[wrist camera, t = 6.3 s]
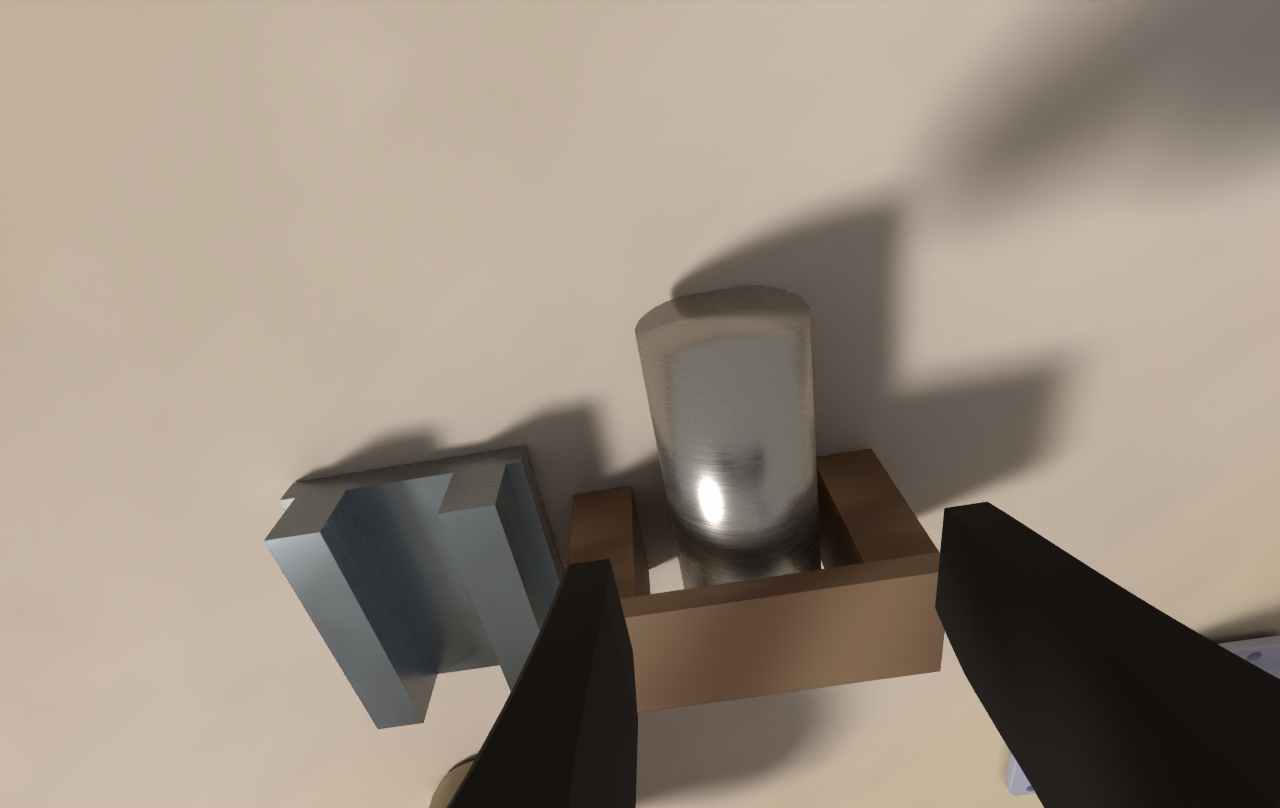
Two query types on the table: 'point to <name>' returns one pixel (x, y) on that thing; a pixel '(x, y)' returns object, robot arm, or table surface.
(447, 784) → the flower pot
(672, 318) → the grey metal cylinder
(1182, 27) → the table surface
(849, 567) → the brown wooden u-shaped block
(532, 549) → the v block
